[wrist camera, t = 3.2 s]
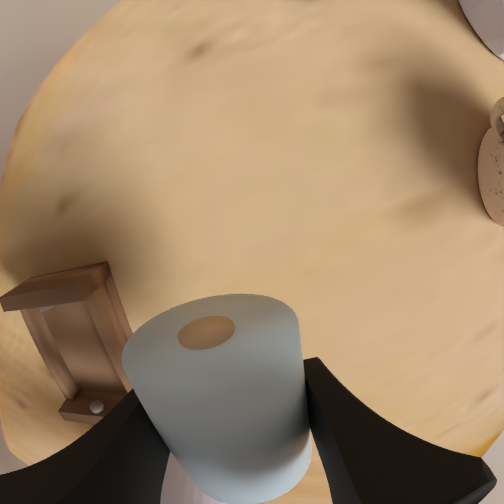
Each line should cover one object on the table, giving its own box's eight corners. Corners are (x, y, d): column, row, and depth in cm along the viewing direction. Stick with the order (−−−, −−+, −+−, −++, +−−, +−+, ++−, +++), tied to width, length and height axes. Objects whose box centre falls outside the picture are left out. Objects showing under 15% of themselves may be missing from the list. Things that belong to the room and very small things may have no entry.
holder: (158, 391, 20) (146, 427, 16) (82, 391, 20) (64, 420, 16) (107, 261, 17) (77, 283, 13) (29, 278, 17) (-2, 298, 13)
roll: (303, 405, 12) (320, 497, 7) (196, 416, 12) (178, 504, 7) (287, 281, 10) (313, 376, 5) (151, 302, 10) (90, 391, 5)
